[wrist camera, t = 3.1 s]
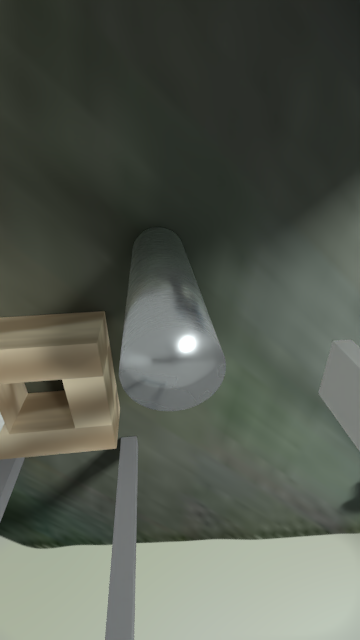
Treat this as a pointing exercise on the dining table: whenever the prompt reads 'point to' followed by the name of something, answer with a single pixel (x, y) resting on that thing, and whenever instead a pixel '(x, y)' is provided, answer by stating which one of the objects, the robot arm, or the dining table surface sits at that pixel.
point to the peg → (167, 329)
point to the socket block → (57, 364)
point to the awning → (123, 560)
